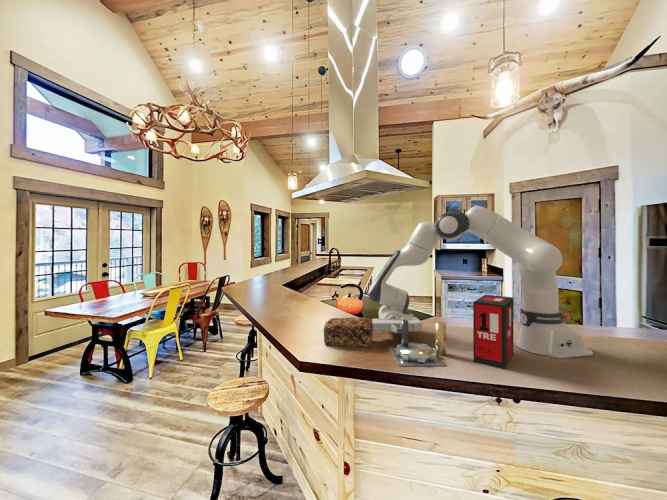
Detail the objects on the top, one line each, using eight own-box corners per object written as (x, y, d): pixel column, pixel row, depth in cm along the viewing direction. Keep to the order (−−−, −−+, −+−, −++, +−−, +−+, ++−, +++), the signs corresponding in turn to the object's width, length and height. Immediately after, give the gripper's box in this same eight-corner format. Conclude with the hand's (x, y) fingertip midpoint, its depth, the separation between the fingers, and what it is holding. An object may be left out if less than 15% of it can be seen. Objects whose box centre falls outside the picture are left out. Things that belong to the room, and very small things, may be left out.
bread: (373, 340, 116) (373, 316, 116) (370, 349, 105) (370, 323, 105) (329, 337, 120) (329, 314, 120) (322, 346, 110) (322, 320, 110)
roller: (443, 351, 102) (443, 321, 102) (447, 355, 98) (447, 324, 98) (433, 352, 102) (433, 321, 102) (437, 355, 98) (437, 324, 98)
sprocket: (429, 346, 104) (428, 318, 104) (442, 362, 91) (442, 329, 91) (392, 347, 105) (392, 318, 105) (400, 362, 91) (400, 329, 91)
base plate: (430, 348, 105) (430, 347, 105) (445, 365, 90) (445, 364, 90) (390, 348, 105) (390, 347, 105) (398, 366, 90) (398, 364, 90)
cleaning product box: (504, 369, 87) (504, 305, 87) (473, 362, 93) (473, 301, 93) (513, 353, 100) (513, 297, 99) (485, 347, 105) (485, 294, 105)
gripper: (368, 314, 120) (371, 322, 106) (416, 313, 120) (426, 322, 106) (368, 328, 120) (372, 339, 106) (416, 328, 120) (426, 339, 106)
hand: (399, 330), depth 106 cm, fingers closed
